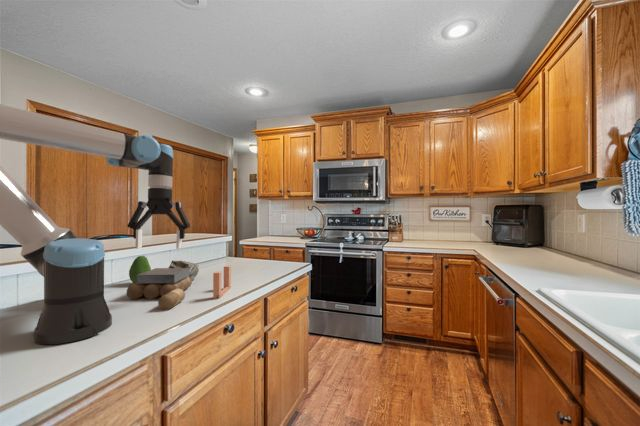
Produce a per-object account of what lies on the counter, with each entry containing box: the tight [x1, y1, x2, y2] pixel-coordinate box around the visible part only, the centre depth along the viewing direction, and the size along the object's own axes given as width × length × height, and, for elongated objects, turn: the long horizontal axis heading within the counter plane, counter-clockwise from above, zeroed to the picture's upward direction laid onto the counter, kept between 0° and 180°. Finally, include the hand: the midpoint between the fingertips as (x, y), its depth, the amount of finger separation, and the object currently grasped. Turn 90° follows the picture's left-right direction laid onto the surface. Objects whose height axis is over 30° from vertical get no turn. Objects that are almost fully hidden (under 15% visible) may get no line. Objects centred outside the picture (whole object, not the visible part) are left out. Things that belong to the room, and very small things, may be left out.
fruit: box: [128, 255, 152, 285], centre depth 119 cm, size 8×8×12 cm
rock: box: [168, 259, 199, 281], centre depth 125 cm, size 18×10×10 cm, turn 6°
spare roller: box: [157, 288, 186, 311], centre depth 92 cm, size 8×5×5 cm, turn 1°
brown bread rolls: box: [126, 277, 193, 300], centre depth 106 cm, size 14×16×5 cm
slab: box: [137, 267, 189, 283], centre depth 106 cm, size 12×13×3 cm
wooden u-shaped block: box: [212, 265, 232, 300], centre depth 106 cm, size 14×2×9 cm, turn 1°
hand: (159, 248), depth 100 cm, fingers open, 13 cm apart
